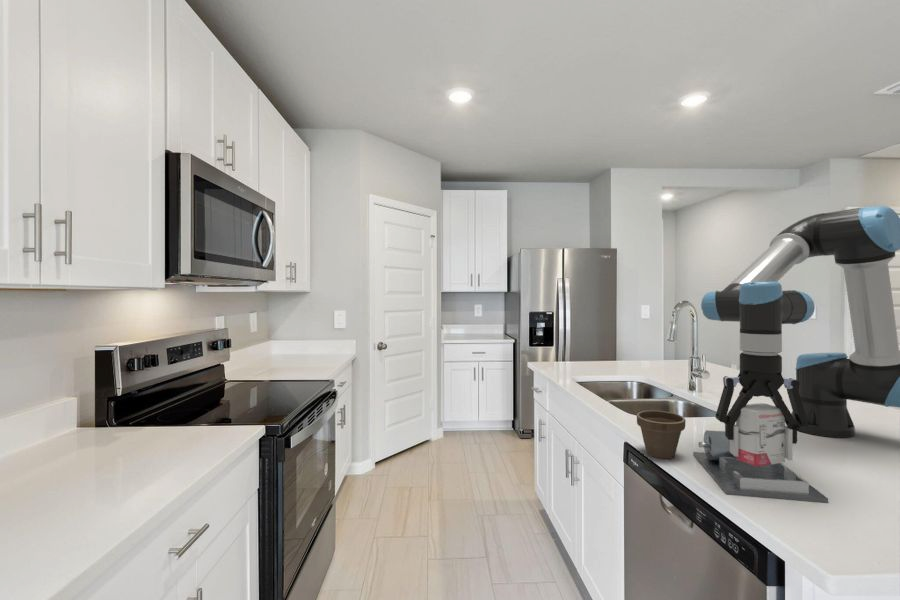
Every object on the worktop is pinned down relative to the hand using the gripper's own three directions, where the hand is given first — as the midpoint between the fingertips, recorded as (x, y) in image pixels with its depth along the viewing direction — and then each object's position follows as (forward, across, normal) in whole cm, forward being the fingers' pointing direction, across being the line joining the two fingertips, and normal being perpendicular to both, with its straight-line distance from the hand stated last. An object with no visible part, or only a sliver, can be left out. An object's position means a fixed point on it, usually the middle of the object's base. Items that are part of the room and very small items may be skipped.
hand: (760, 456), depth 97 cm
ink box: (+1, 0, 0) cm, 1 cm away
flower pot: (+6, +17, -15) cm, 23 cm away
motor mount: (+6, 0, -5) cm, 8 cm away
